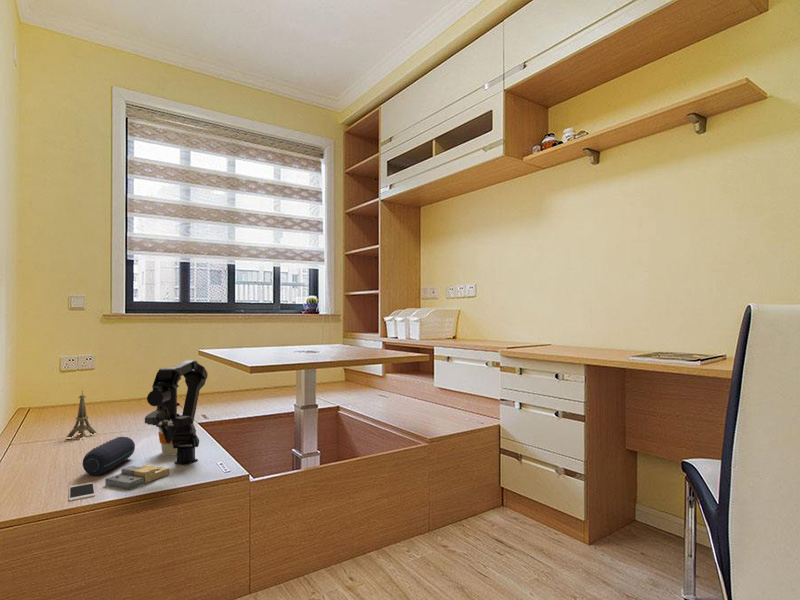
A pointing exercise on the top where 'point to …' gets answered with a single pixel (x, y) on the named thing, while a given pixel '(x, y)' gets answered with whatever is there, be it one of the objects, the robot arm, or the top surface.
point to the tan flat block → (151, 472)
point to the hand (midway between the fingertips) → (168, 442)
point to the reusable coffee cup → (166, 444)
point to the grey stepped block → (125, 479)
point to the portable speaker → (108, 455)
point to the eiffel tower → (82, 420)
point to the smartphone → (81, 491)
